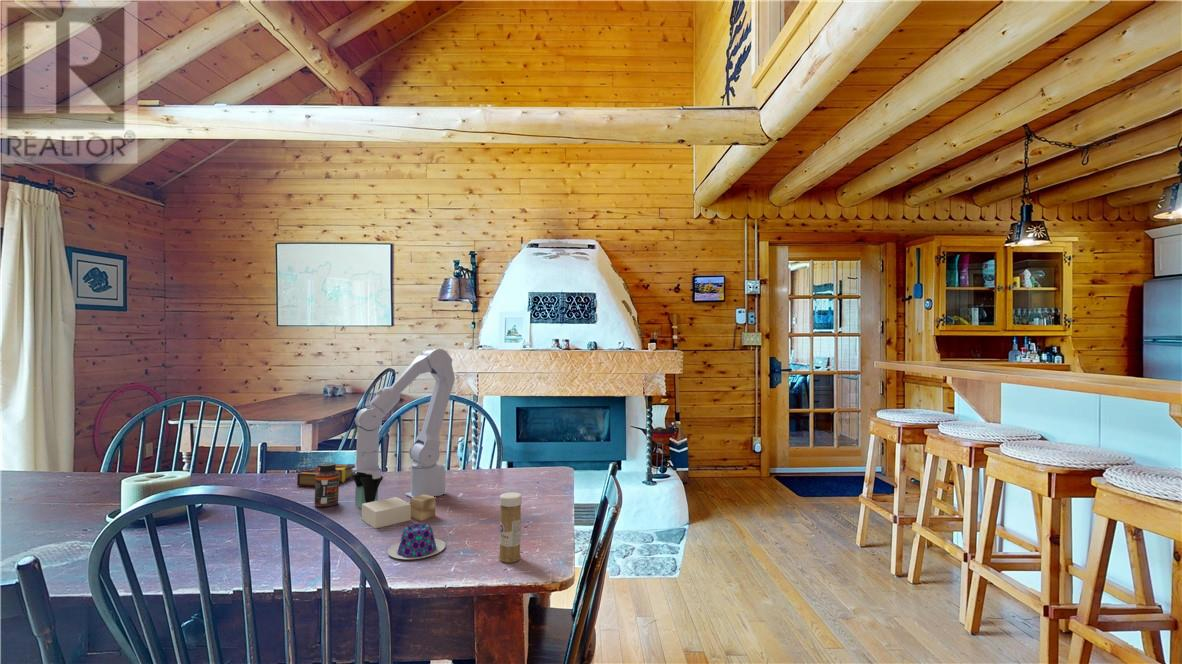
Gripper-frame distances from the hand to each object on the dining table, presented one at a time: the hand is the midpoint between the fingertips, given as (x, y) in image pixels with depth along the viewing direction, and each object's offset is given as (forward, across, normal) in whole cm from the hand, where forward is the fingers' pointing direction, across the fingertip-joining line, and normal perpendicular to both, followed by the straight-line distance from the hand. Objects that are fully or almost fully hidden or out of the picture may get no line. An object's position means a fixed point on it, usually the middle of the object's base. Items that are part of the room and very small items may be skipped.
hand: (366, 499), depth 143 cm
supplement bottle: (+2, -8, -8) cm, 11 cm away
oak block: (+2, +20, +7) cm, 21 cm away
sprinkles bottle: (+2, +58, +8) cm, 59 cm away
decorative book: (+2, -35, +1) cm, 35 cm away
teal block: (+1, 0, 0) cm, 1 cm away
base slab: (+1, +16, -1) cm, 16 cm away
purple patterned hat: (+2, +40, -4) cm, 40 cm away
